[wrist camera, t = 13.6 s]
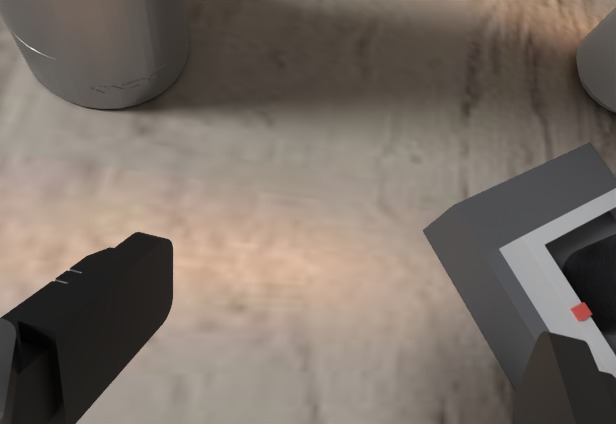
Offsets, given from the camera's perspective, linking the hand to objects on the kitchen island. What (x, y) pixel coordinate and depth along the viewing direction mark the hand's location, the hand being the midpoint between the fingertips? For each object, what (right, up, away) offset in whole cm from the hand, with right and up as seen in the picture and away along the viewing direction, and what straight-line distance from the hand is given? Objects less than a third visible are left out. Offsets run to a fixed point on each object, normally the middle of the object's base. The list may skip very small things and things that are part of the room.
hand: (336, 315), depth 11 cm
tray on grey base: (+14, -3, +18) cm, 23 cm away
